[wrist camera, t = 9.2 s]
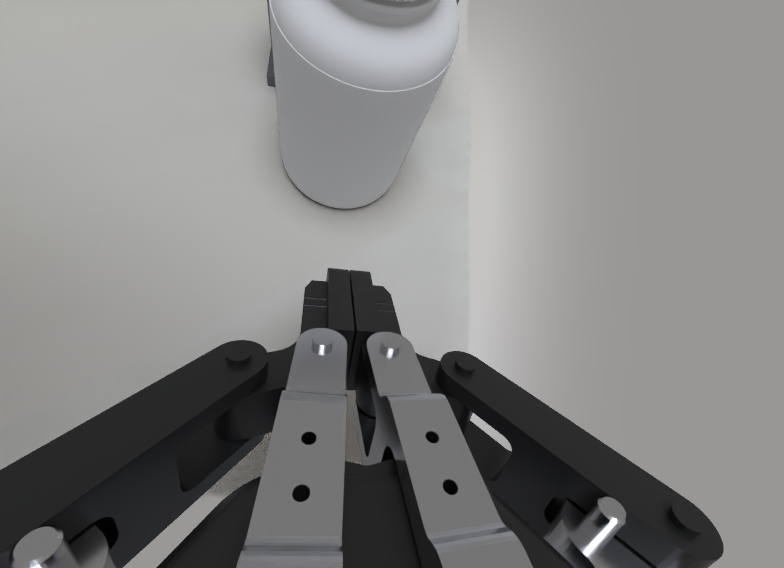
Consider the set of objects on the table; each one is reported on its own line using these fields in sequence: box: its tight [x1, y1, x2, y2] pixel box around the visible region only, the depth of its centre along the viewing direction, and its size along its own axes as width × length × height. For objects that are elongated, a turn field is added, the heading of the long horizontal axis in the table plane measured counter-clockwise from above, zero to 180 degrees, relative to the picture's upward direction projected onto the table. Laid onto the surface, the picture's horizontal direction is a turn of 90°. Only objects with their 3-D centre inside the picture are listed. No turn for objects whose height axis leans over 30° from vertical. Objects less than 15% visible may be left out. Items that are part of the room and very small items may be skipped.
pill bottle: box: [269, 0, 459, 209], centre depth 18 cm, size 8×8×15 cm
